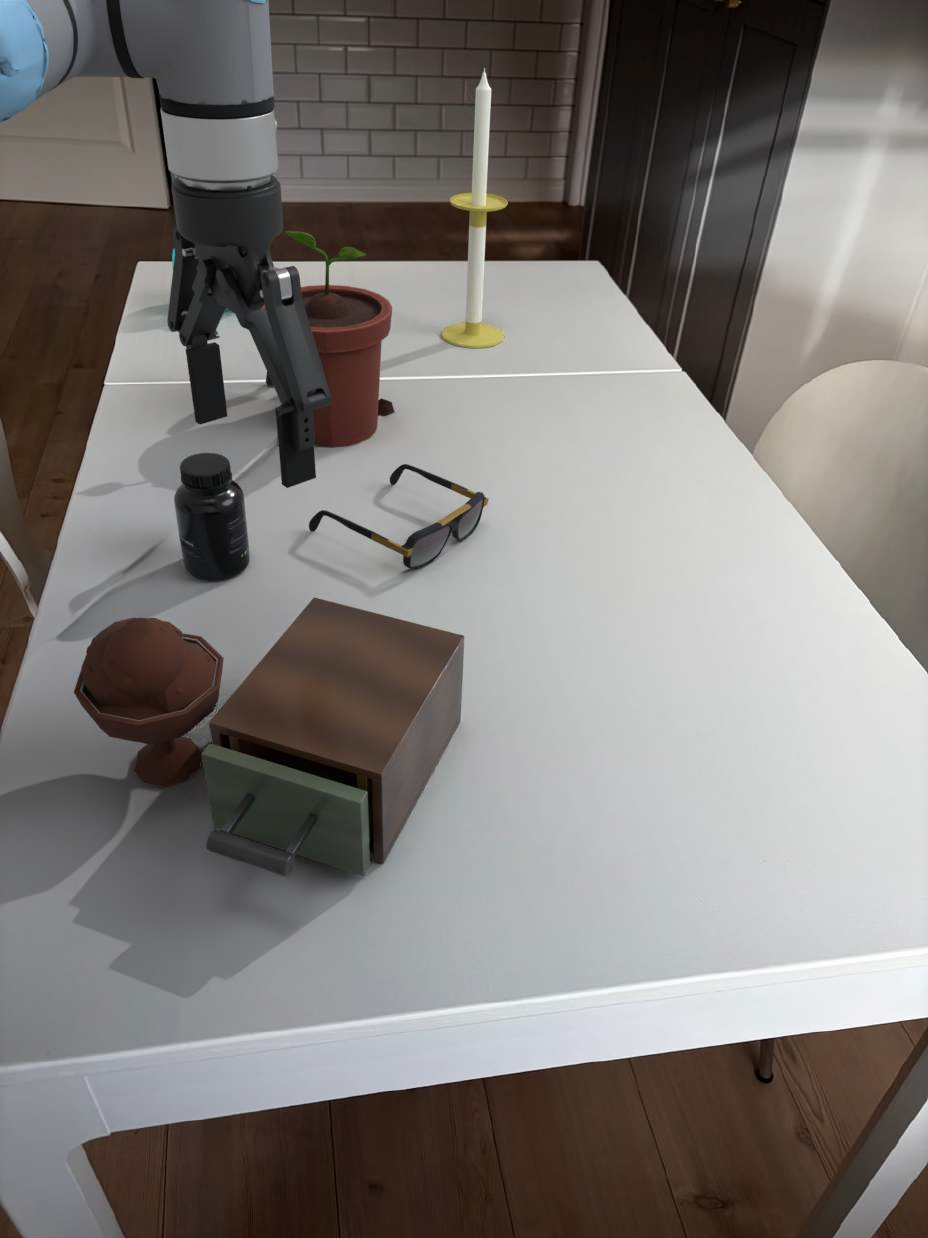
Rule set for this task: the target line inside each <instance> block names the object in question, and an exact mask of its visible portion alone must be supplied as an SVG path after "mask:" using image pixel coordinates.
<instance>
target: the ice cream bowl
mask: <svg viewBox="0 0 928 1238" xmlns="http://www.w3.org/2000/svg"><path fill="white" fill-rule="evenodd" d="M91 639H92V640H91V641H90V644H89V645H88V646H87V647H86V652H85V653H86V655H85V657H84V660H83V662H82V665H81V669H80V671H79V675H78V677H77V681H76V684H75V687H74V690H73V694H74V695H75V697H76V699H77V701H78V703H79V704H80V706H81V707H82V709H83V710H84V711H85V713H87V714H88V715H89V717H90V718H91V719H92V720H93V722H94V723H95V724H96V726H97V727H98V728H99V729H100V730H101V731H103V733H104V734H106V735H107V736H108V737H109V738H115V739H119V740H124V741H130V742H134V743H140V744H144V746H143V747H142V748H140V749H139V750H137V754H136V759H135V763H134V767H133V773H135V775H136V776H137V777H138V778H139V780H140V781H141V782H142V783H143V784H144V785H149V786H154V787H161V788H166V787H171V786H174V785H178V784H182V783H185V782H187V781H188V780H189V779H190V778H191V777H193V776H194V775H195V774H196V773H197V772H198V771H199V770H200V769H201V767H202V763H203V762H202V756H201V754H202V752H203V751H202V749H201V748H200V747H199V746H198V745H197V743H195V742H194V741H193V740H192V738H190V737H185V735H187V734H188V733H189V732H190V731H192V730H193V729H194V728H195V727H196V726H198V725H199V724H200V723H201V722H202V721H204V720H205V719H206V718H207V717H209V715H211V714H212V713H213V712H214V710H215V708H216V706H217V704H218V702H219V697H220V689H221V683H222V676H223V669H224V659H225V658H224V657H223V655H221V654H220V652H218V651H217V649H215V648H214V647H213V646H212V645H211V644H210V643H209V642H208V641H207V640H206V639H205V638H203V636H201V635H195V634H190V633H183V631H182V630H181V629H179V628H178V627H177V626H175V625H174V624H173V623H171V622H170V621H166V620H161V619H159V618H156V617H140V616H139V617H129V618H125V619H120V620H117V621H114V622H113V623H111V624H110V625H108V626H107V627H105V628H104V629H102V630H101V631H100V632H99V633H97V634H96V635H95V636H93V638H91ZM145 744H146V745H145Z"/></svg>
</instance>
